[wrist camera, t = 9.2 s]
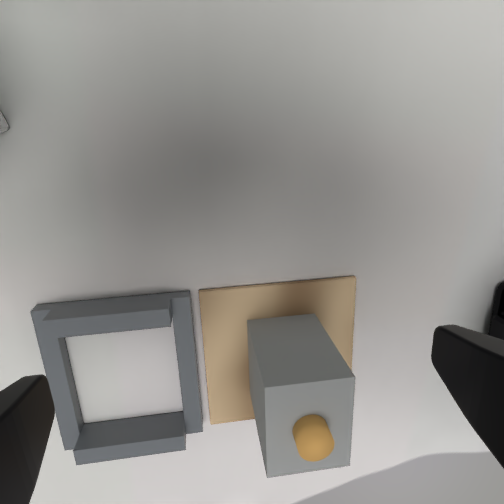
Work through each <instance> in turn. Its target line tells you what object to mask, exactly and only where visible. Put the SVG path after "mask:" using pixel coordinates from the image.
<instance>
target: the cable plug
mask: <svg viewBox="0 0 504 504" xmlns="http://www.w3.org/2000/svg"><path fill="white" fill-rule="evenodd" d="M247 335H248V358H249V382H250V395H251V400H252V405H253V410H254V415H255V420H256V425H257V430H258V435H259V440H260V445H261V450H262V455H263V460H264V465H265V470H266V475H267V478H270V477H277V476H284V475H290V474H297V473H304V472H310V471H317V470H324V469H331V468H337V467H344V466H350V454H351V438H352V422H353V406H354V390H355V376H354V374H353V373H352V371H351V369H350V368H349V366H348V365H347V363H346V362H345V360H344V359H343V357H342V355H341V354H340V352H339V351H338V349H337V348H336V346H335V344H334V343H333V341H332V340H331V338H330V337H329V335H328V333H327V332H326V330H325V329H324V327H323V326H322V324H321V323H320V321H319V319H318V318H317V316H316V315H315V314H304V315H294V316H284V317H273V318H263V319H253V320H247Z"/></svg>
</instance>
